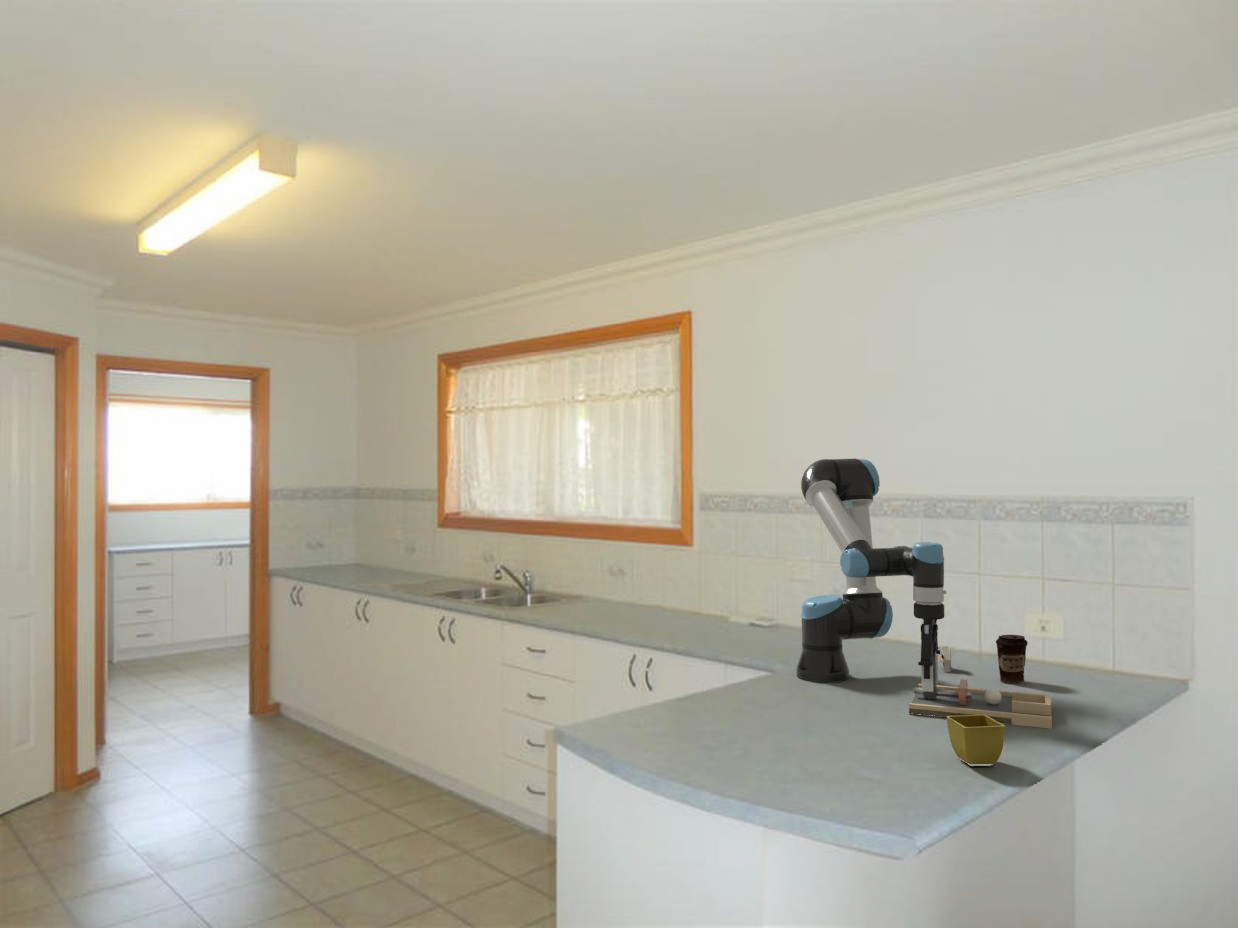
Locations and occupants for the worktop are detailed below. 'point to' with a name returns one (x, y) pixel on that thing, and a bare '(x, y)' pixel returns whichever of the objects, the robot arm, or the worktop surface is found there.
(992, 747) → the flower pot
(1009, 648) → the coffee cup
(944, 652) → the architectural model
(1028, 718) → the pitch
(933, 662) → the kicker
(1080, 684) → the worktop surface
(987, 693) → the ball
